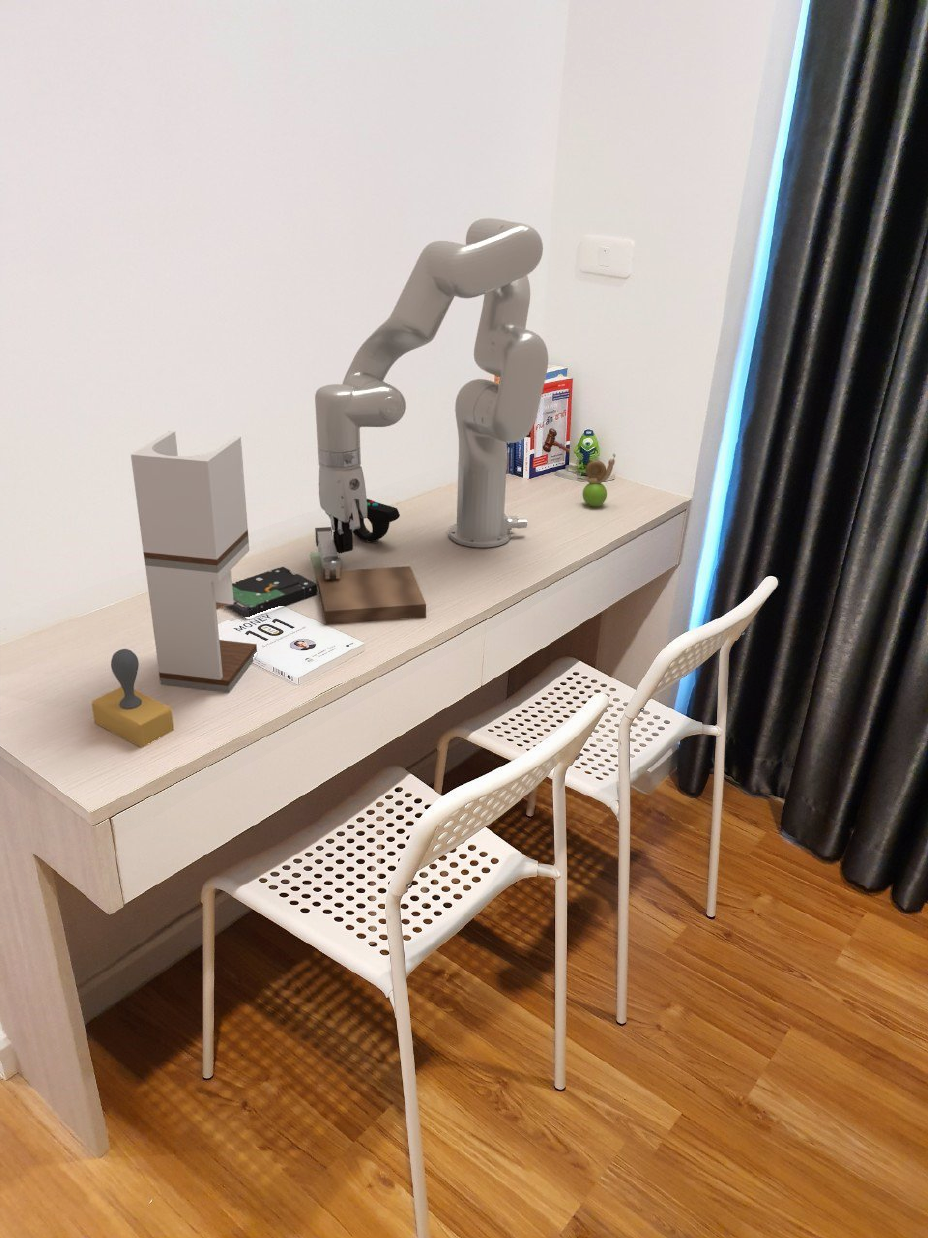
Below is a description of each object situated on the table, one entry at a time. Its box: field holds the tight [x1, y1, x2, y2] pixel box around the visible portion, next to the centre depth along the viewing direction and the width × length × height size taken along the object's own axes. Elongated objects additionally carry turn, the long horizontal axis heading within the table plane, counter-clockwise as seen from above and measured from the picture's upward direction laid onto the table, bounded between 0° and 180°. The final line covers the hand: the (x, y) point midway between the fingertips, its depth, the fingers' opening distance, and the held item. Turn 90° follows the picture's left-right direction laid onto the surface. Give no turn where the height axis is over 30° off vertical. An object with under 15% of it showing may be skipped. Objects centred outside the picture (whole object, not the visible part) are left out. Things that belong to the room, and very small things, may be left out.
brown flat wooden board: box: [310, 551, 427, 625], centre depth 176 cm, size 17×30×2 cm, turn 13°
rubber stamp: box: [91, 648, 175, 748], centre depth 131 cm, size 10×6×12 cm, turn 55°
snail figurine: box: [582, 453, 616, 507], centre depth 214 cm, size 5×6×12 cm
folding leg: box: [314, 526, 342, 579], centre depth 178 cm, size 17×3×3 cm, turn 13°
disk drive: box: [225, 566, 318, 618], centre depth 170 cm, size 10×3×15 cm
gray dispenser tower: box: [130, 430, 258, 694], centre depth 140 cm, size 11×11×35 cm
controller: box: [352, 498, 401, 543], centre depth 193 cm, size 4×12×10 cm, turn 56°
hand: (343, 550), depth 182 cm, fingers closed
